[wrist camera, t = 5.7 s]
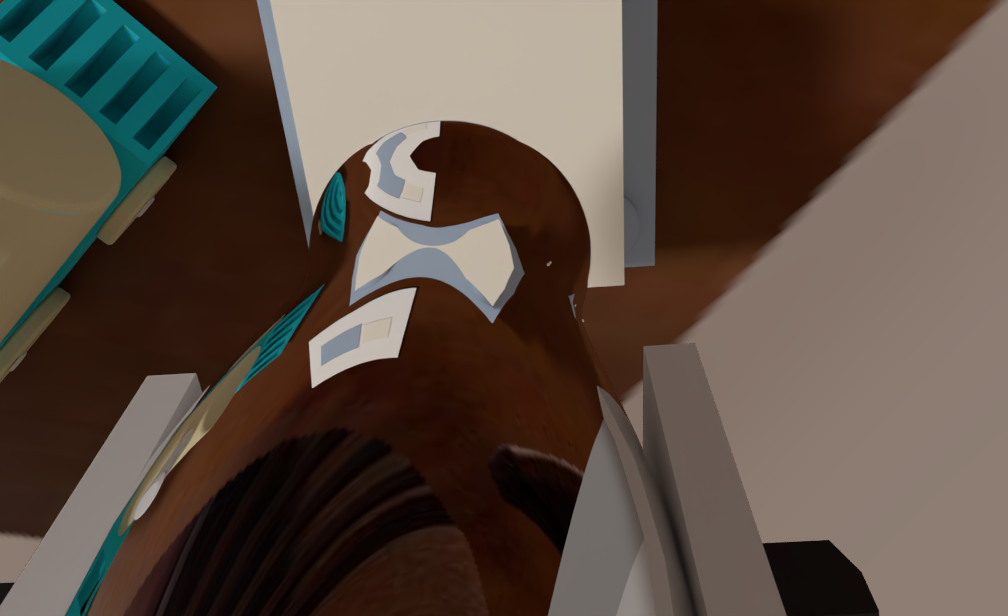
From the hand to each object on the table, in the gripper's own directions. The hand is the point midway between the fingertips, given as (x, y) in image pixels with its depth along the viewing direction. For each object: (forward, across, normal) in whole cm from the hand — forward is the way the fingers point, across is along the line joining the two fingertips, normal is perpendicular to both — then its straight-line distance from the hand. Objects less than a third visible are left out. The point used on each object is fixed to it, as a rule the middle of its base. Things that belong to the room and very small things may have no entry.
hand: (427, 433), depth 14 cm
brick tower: (+21, 0, 0) cm, 21 cm away
